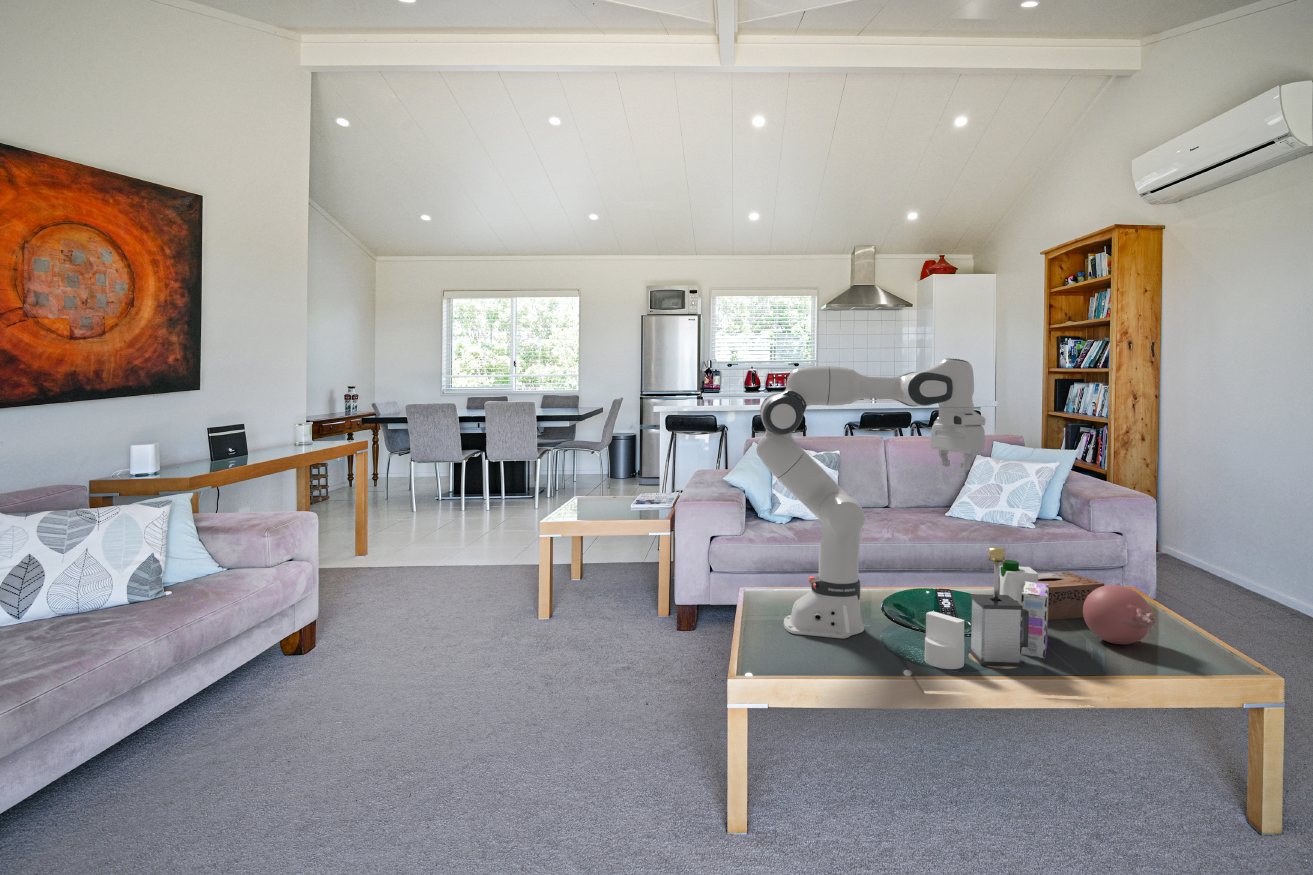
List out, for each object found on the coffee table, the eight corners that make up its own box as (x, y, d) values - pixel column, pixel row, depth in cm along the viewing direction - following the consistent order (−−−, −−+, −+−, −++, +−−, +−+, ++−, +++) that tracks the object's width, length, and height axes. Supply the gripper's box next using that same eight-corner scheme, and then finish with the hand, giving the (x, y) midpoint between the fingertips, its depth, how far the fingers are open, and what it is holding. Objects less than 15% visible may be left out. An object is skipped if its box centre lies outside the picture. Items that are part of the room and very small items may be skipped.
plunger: (987, 618, 168) (988, 551, 167) (978, 611, 174) (979, 545, 173) (1013, 619, 167) (1014, 551, 166) (1003, 611, 173) (1004, 546, 172)
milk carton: (995, 626, 196) (997, 557, 195) (1029, 628, 195) (1031, 558, 193) (1004, 637, 188) (1006, 565, 187) (1040, 639, 186) (1042, 566, 185)
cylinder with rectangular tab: (971, 665, 168) (972, 618, 168) (950, 674, 163) (951, 625, 162) (938, 654, 176) (939, 608, 175) (917, 662, 171) (917, 615, 170)
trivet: (977, 669, 166) (978, 667, 166) (961, 651, 178) (961, 649, 178) (1030, 671, 164) (1030, 669, 164) (1010, 652, 176) (1010, 650, 176)
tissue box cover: (1066, 602, 219) (1067, 571, 219) (1103, 616, 205) (1104, 583, 205) (994, 607, 215) (995, 575, 214) (1027, 622, 201) (1028, 588, 200)
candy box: (1045, 660, 171) (1047, 596, 170) (1019, 656, 174) (1020, 592, 173) (1048, 643, 183) (1049, 582, 182) (1023, 639, 186) (1024, 579, 185)
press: (981, 665, 167) (982, 605, 166) (968, 651, 176) (969, 593, 175) (1034, 667, 165) (1036, 606, 164) (1018, 652, 175) (1019, 594, 174)
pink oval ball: (1117, 660, 171) (1119, 599, 170) (1069, 632, 191) (1071, 578, 190) (1179, 660, 171) (1181, 599, 170) (1125, 632, 191) (1127, 578, 190)
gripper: (924, 417, 198) (924, 464, 199) (967, 419, 178) (966, 472, 179) (945, 416, 199) (944, 464, 200) (989, 418, 179) (988, 471, 179)
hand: (955, 468), depth 189 cm, fingers open, 8 cm apart
